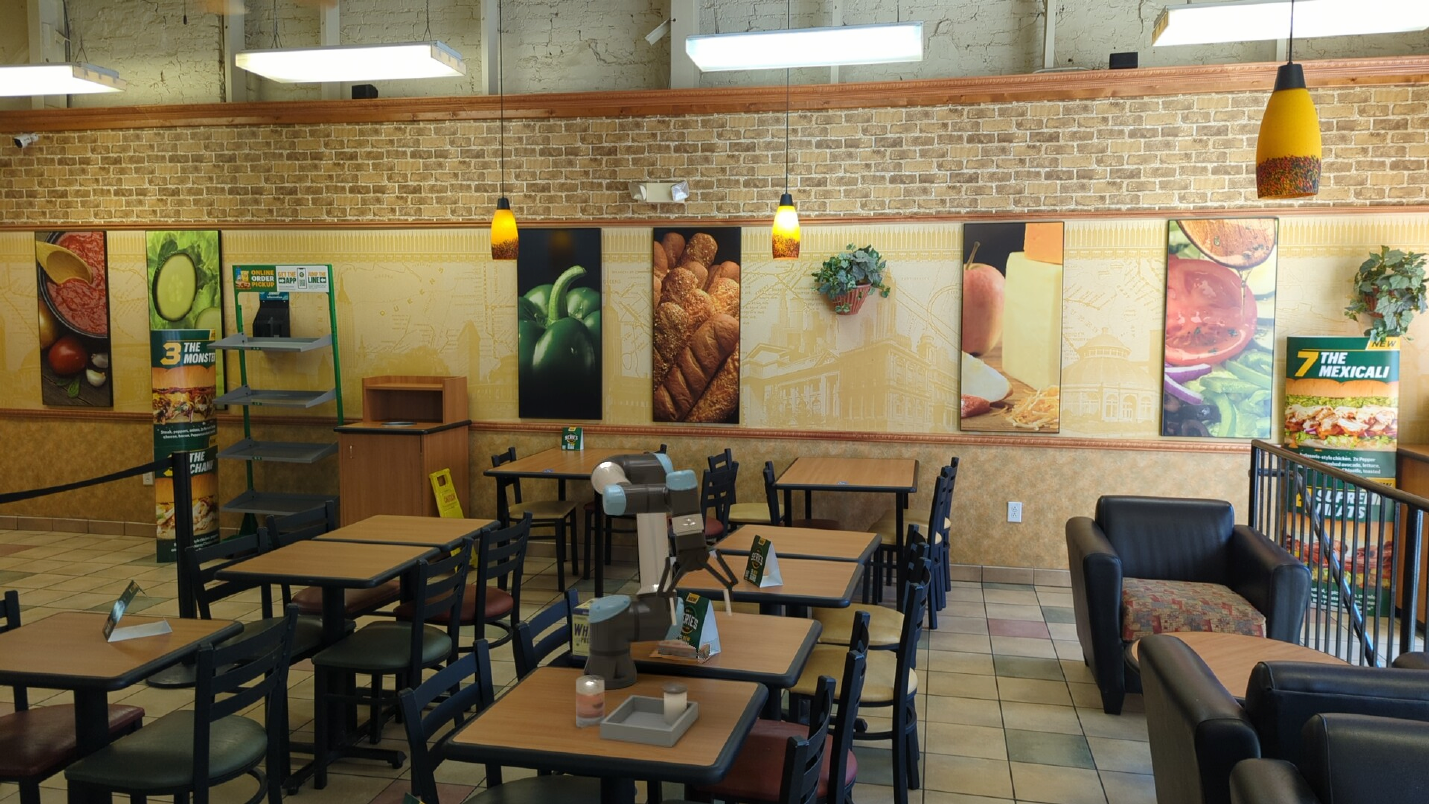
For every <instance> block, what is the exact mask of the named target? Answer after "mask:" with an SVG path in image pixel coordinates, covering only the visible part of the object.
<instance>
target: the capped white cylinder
mask: <svg viewBox="0 0 1429 804" xmlns="http://www.w3.org/2000/svg"><path fill="white" fill-rule="evenodd" d="M687 691H688V690H687ZM687 691H686V692H684V693H680V694H669V693H666V692H664V691H663V699H664V723H666V724H668V725H673V724H674V723H675V722H676V721H677V720H678V719H679V718H680V717H681V716H682V715H683V714H684V713H685V712H686V711H687V701H688V700H687V698H688V697H687V696H688V695H687V693H688V692H687Z"/></svg>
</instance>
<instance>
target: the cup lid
mask: <svg viewBox="0 0 1429 804" xmlns="http://www.w3.org/2000/svg"><path fill="white" fill-rule="evenodd" d="M662 691H663V693H664V692H666V693H669V694H680V693H684V692H686V691H688V685H687V684H686V683H683V682H668V683H666V684H663V686H662Z"/></svg>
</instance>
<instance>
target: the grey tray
mask: <svg viewBox="0 0 1429 804" xmlns="http://www.w3.org/2000/svg"><path fill="white" fill-rule="evenodd" d="M698 718H699V702H697V701H690V700H687V711H686V712H685V713H684V714H683V715H682V716H681V717H680V718H679V719H678V720H677V721H676V722H675V723H674V724H673V725H668V724H666V723H664V697H663V698H661V697H654V696H644V695H634V694H631V695H629V697H627V698H626V699H625V700H623V702H622V703H621V704H619V706H617V707H616V708H615V709H614V710H613V711H612V712H610V713H609V715H607V716H606V717H605V719H604V720H603V721H602V722H600V724H599V738H600V739H601V740H602V739H604V740H608V741H609V740H610V741H611V740H612V741H616V742H617V741H619V742H626V743H627V742H628V743H634V744H642V745H650V746H657V747H658V746H659V747H664V748H665V747H666V748H673V746H674V745H675V744H677V742H678V741H679V740H680V738H681V737H682V736H683V735H684V734H685V733H686V731H688V729H689V728H690V727H691V726H692V725H693V724H694V723H695V722H696V720H697V719H698Z"/></svg>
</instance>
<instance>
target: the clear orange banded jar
mask: <svg viewBox="0 0 1429 804" xmlns="http://www.w3.org/2000/svg"><path fill="white" fill-rule="evenodd" d="M605 690H606V689H604V678H603V677H601V676H596V675H587V676H583V675H582V676H580V677H577V678H576V679H575V711H576V712H575V713H576V715H575V716H576V717H575V719H576V720H575V721H576V723H575V725H576V726H577V727H578V728H581V729H585V727H587V726H596V725H600V722H602V721H603V720H604V719H605V718H606V717H605V714H606V713H605V711H606V710H605V709H606V707H605V706H606V705H605V701H606V699H605V693H606V692H605Z"/></svg>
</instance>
